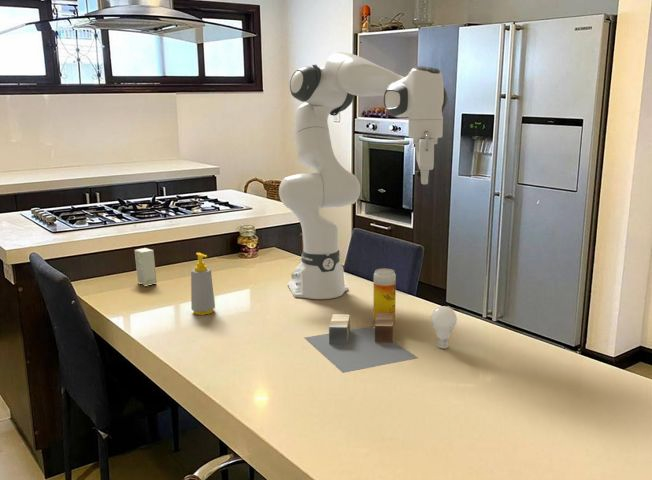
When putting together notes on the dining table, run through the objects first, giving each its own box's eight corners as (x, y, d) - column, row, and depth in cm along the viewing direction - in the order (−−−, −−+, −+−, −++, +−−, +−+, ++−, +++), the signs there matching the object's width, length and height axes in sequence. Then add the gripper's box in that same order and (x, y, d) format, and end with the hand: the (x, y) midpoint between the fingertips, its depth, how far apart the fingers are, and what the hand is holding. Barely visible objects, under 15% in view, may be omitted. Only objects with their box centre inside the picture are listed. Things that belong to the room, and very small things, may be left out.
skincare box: (157, 284, 216) (154, 250, 214) (145, 287, 213) (142, 252, 211) (148, 281, 221) (146, 247, 218) (136, 283, 218) (134, 249, 215)
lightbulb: (439, 342, 162) (440, 301, 160) (460, 348, 158) (462, 306, 155) (424, 348, 158) (425, 306, 155) (446, 355, 153) (447, 312, 151)
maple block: (346, 327, 159) (349, 314, 169) (329, 327, 160) (332, 314, 169) (346, 344, 160) (349, 330, 170) (329, 344, 161) (333, 330, 170)
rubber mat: (304, 339, 165) (303, 337, 165) (371, 327, 173) (371, 326, 173) (342, 374, 144) (342, 372, 144) (418, 359, 151) (418, 357, 151)
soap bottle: (199, 317, 183) (195, 257, 179) (187, 312, 188) (183, 253, 184) (219, 312, 187) (216, 253, 183) (207, 306, 192) (204, 249, 188)
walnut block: (392, 326, 160) (393, 313, 170) (374, 325, 160) (376, 312, 170) (392, 342, 161) (393, 329, 170) (374, 342, 161) (376, 328, 171)
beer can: (394, 327, 173) (394, 274, 170) (372, 325, 174) (372, 273, 171) (396, 319, 179) (396, 268, 176) (374, 318, 180) (375, 267, 177)
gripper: (440, 132, 154) (438, 189, 157) (435, 129, 174) (434, 179, 177) (414, 132, 155) (413, 188, 158) (412, 129, 174) (411, 179, 177)
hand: (424, 183), depth 167 cm, fingers closed
